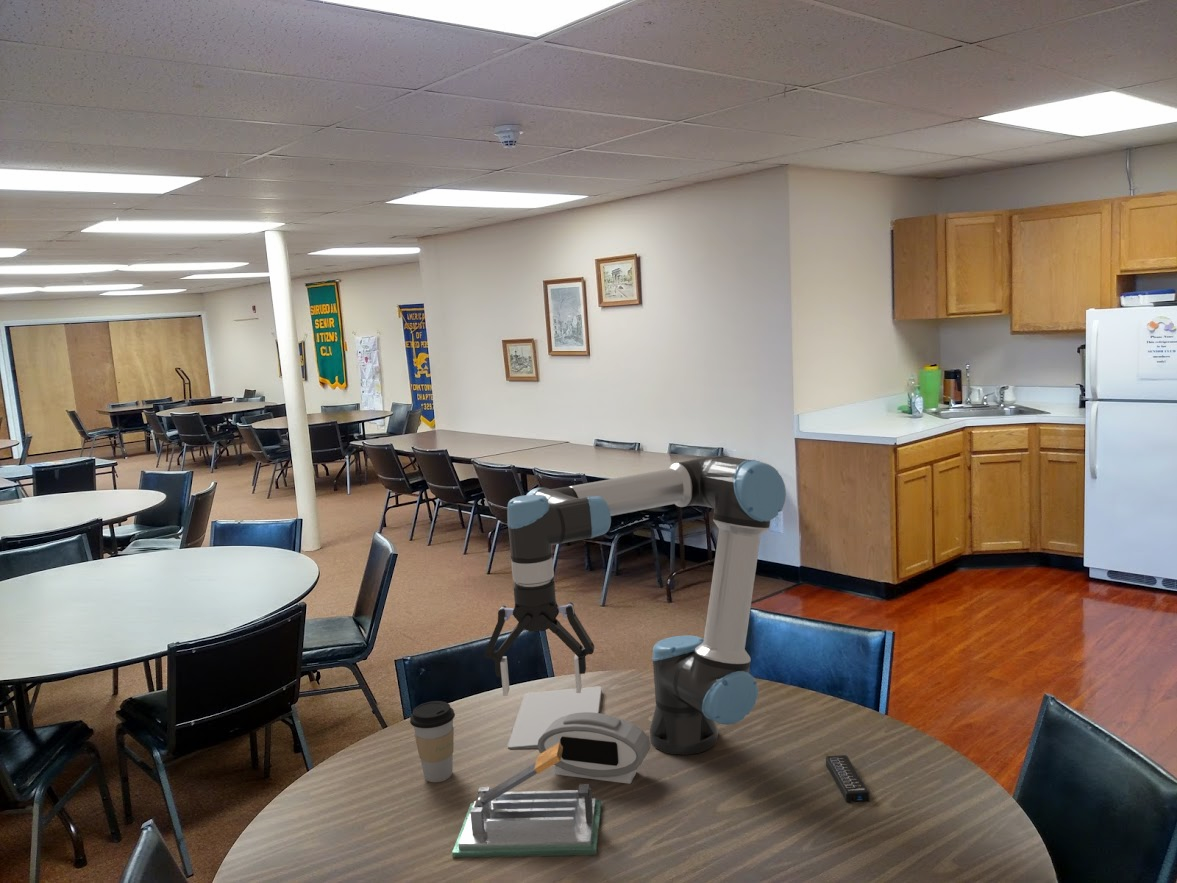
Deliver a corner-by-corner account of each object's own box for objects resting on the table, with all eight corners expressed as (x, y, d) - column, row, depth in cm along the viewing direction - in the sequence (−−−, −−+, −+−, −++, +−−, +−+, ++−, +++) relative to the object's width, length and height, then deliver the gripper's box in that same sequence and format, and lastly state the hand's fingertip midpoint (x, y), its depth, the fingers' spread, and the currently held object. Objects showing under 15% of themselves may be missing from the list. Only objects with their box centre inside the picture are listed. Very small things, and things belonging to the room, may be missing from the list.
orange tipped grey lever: (564, 749, 162) (559, 742, 162) (562, 763, 157) (556, 755, 157) (482, 799, 165) (476, 792, 165) (476, 814, 160) (471, 806, 160)
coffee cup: (451, 787, 179) (444, 719, 177) (408, 785, 181) (401, 718, 179) (466, 764, 189) (460, 699, 187) (426, 763, 191) (419, 698, 189)
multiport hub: (846, 765, 178) (846, 754, 178) (870, 803, 164) (869, 792, 164) (825, 766, 178) (825, 756, 178) (847, 805, 164) (846, 793, 164)
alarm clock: (539, 774, 182) (534, 717, 181) (550, 760, 188) (545, 704, 186) (644, 788, 174) (640, 728, 173) (652, 772, 180) (648, 714, 178)
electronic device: (595, 748, 193) (594, 739, 193) (507, 751, 194) (506, 742, 194) (602, 693, 221) (601, 685, 221) (525, 696, 223) (524, 688, 222)
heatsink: (601, 804, 169) (598, 766, 168) (596, 854, 153) (592, 812, 152) (471, 807, 171) (467, 769, 170) (452, 857, 156) (448, 815, 154)
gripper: (602, 571, 160) (610, 680, 162) (470, 577, 162) (480, 685, 164) (600, 583, 152) (608, 697, 155) (461, 590, 154) (472, 702, 157)
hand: (542, 691), depth 160 cm, fingers open, 13 cm apart
